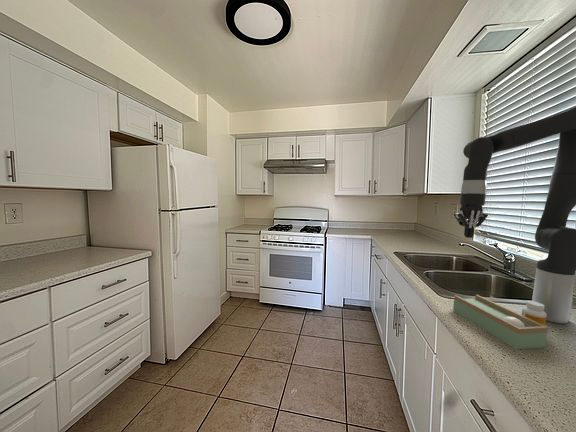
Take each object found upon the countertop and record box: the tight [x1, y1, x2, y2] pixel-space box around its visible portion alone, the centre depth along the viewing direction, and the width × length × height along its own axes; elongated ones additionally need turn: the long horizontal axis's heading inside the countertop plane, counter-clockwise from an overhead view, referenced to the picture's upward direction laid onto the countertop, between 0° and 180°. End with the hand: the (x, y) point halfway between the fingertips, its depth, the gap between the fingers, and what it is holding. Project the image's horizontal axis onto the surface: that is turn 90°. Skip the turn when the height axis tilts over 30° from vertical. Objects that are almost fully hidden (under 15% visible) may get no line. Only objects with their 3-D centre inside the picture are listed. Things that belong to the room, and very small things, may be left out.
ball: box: [502, 316, 525, 327], centre depth 73 cm, size 6×6×6 cm
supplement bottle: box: [521, 300, 547, 326], centre depth 76 cm, size 5×5×10 cm
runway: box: [452, 294, 549, 350], centre depth 78 cm, size 10×22×6 cm, turn 8°
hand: (468, 237), depth 92 cm, fingers closed
